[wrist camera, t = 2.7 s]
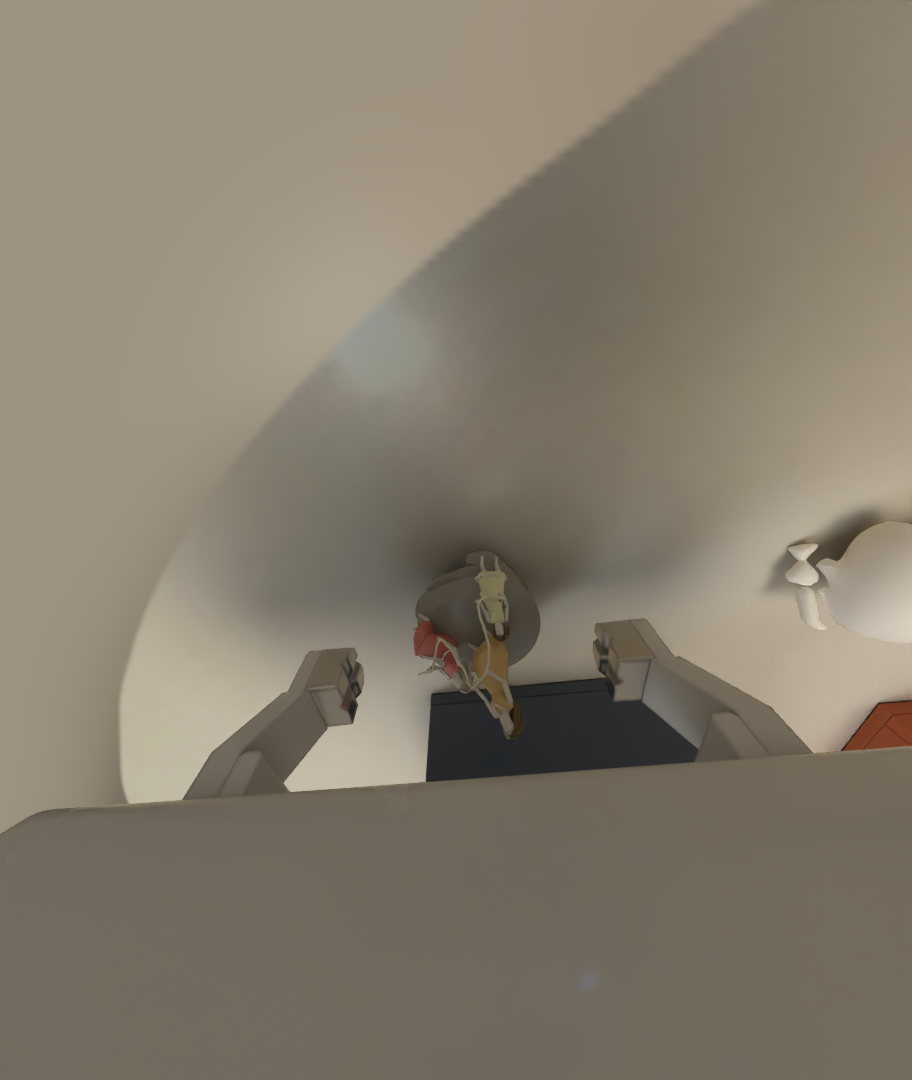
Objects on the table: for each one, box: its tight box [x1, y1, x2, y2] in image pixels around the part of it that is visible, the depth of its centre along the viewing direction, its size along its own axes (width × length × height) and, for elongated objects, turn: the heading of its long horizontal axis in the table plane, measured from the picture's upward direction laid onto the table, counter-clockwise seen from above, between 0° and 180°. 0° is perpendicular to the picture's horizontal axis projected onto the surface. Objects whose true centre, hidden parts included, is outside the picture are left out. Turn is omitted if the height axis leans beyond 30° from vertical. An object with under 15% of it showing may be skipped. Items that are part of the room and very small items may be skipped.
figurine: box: [414, 551, 540, 739], centre depth 11 cm, size 5×4×6 cm
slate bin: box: [426, 679, 699, 782], centre depth 17 cm, size 12×12×6 cm
